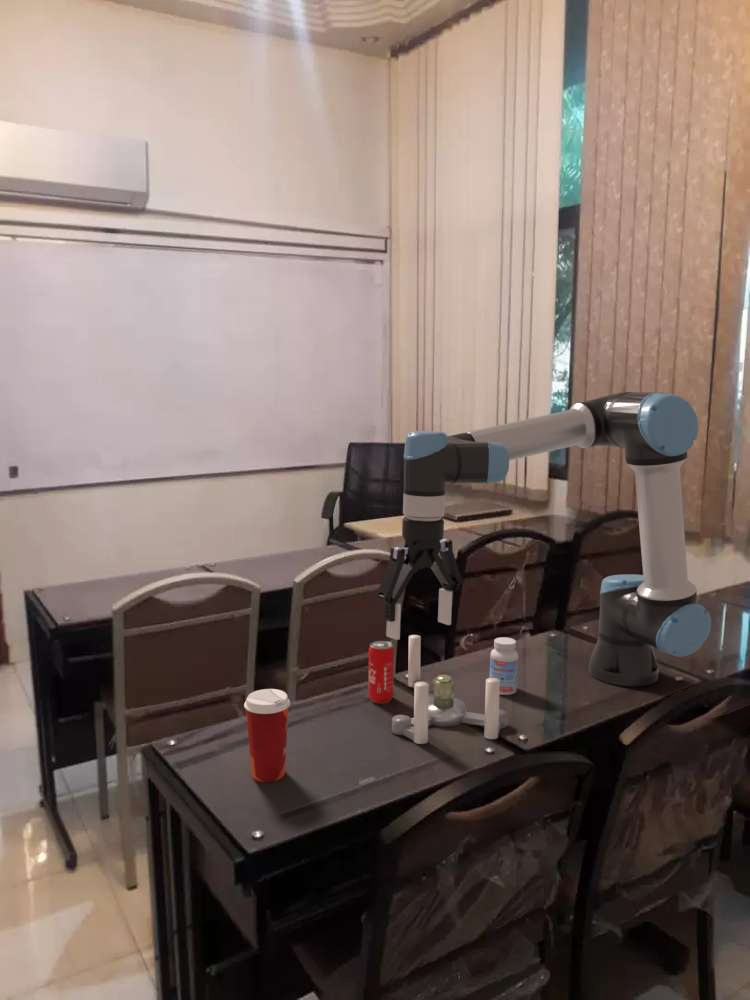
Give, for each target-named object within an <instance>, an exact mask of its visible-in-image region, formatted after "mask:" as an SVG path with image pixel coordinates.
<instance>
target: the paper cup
mask: <svg viewBox="0 0 750 1000" xmlns="http://www.w3.org/2000/svg"><path fill="white" fill-rule="evenodd" d="M290 705H291V701H290V699H289V697H288V694H287V693H286V692H285V691H284V690H281V689H276V688H264V689H259V690H255V691H253V692H251V693H249V694H248V695H247V697H246V700H245V702H244V704H243V707H244V709H245V712H246V724H247V736H248V745H249V746H248V747H249V759H250V768H251V770H250V772H251V776H252V779H254V780H255V781H257V782H260V783H274V782H277V781H280V780H281V779H283V777H284V776H285V773H286V763H287V762H286V759H287V741H288V740H287V738H288V737H287V736H288V719H289V718H288V717H289V707H290Z"/></svg>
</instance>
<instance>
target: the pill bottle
mask: <svg viewBox="0 0 750 1000" xmlns="http://www.w3.org/2000/svg"><path fill="white" fill-rule="evenodd" d="M493 647H494V648H493V649H492V650H491V652H490V654H489V655H490V656H489V678H496V679H499V680H500V694H499V696H501V695H502V696H510V695H513V694H515V693H517V690H518V678H519V660H520V659H519V656H520V655H519V653H518V651H517V650H516V648H517V641H516V640H515V639H514V638H511V637H507V636H506V637H504V636H502V637H501V636H500V637H496V638H495V639H494V641H493Z"/></svg>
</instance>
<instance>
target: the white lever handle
mask: <svg viewBox="0 0 750 1000" xmlns="http://www.w3.org/2000/svg"><path fill="white" fill-rule="evenodd" d="M421 639H422V637H421V635H418V634H411V635H408V658H407V659H408V662H407V663H408V666H407V667H408V670H407V674H408V675H407V686H408V687H410V688H413V689H414V684H415V683H416V682H426V683H428V684H429V691H428V693H434V679H426V680H423V679H421V647H422V646H421V645H422V644H421V642H422V641H421Z"/></svg>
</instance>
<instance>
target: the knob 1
mask: <svg viewBox="0 0 750 1000" xmlns="http://www.w3.org/2000/svg"><path fill="white" fill-rule="evenodd" d="M413 691H414V692H413V693H414V694H413V695H414V697H413V699H414V700H413V718H414V726H412V725H411V718H412V717H410V716H408V715H406V714H397V715H393V717H391V732H392V733H393V734H394V735H398V736H405V737H406V738H408V739H409V740H411V741H413V742H414V743H415V744H418V745H424V744H427V743H428V741H429V740H428V739H429V738H428V737H429V733H428V732H429V726H428V691H429V684H428V683H426V682H416V683H415V684H414V688H413Z"/></svg>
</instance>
